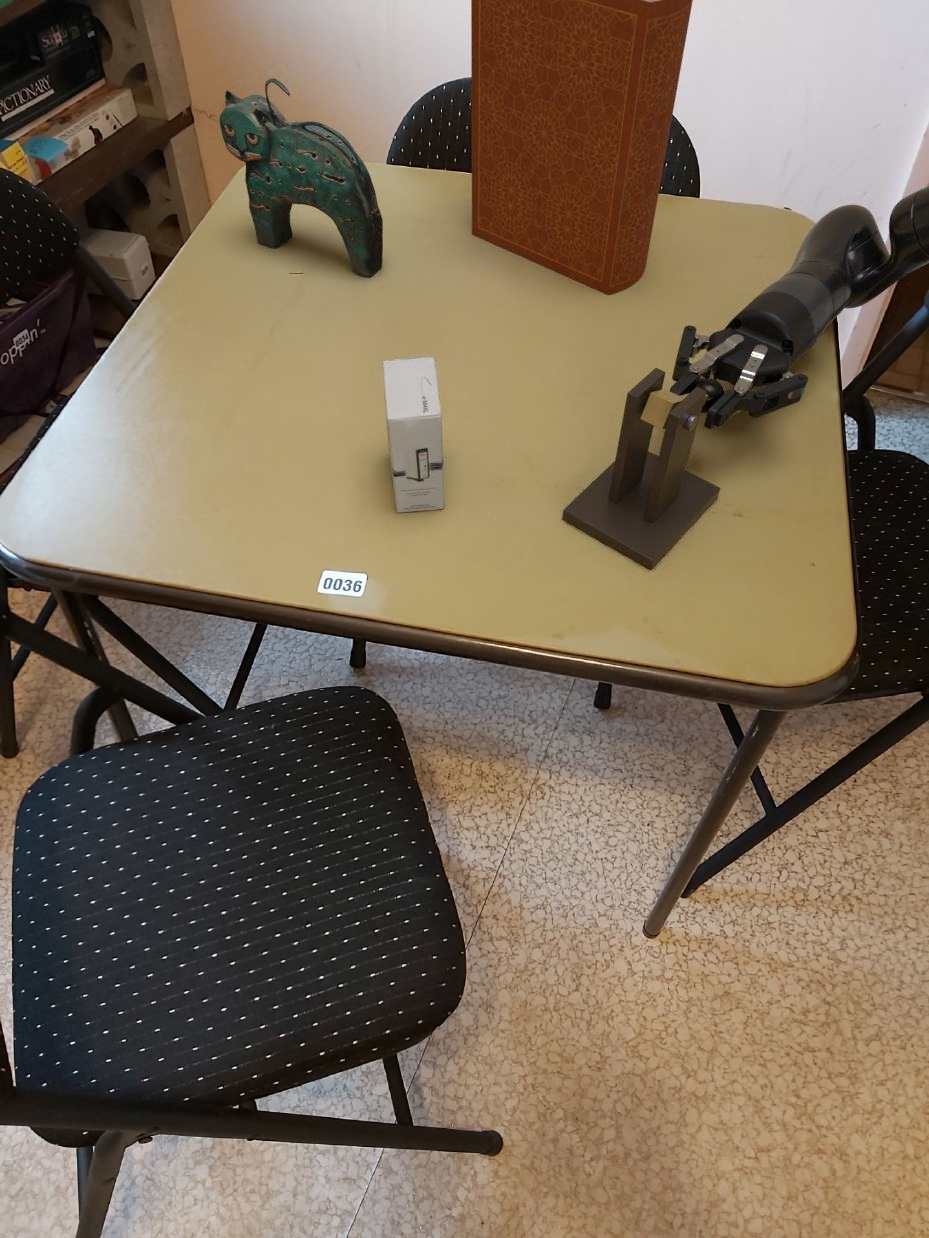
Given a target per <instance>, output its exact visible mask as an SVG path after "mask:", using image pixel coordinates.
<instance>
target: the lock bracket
mask: <svg viewBox="0 0 929 1238" xmlns="http://www.w3.org/2000/svg"><path fill="white" fill-rule="evenodd" d="M665 376H666V371H664V370H662V369H660V368H658V367H654V369H652V370H651V371H650V372H649V373H648V374H647V375H646V376H644V377H643V378H642V379H641V380H640V381H639V382H638V383H637V384H636V385H634V387H632V388H631V389H630V390H629V391H628V392H627V394H626V400H625V405H624V409H623V415H622V421H621V427H620V432H619V437H618V438H619V439H618V443H617V448H616V455H615V460H614V461H613V462H612V463H611V464H610V465H609V466H608V467H607V468H606V469H605V470H603V471H602V472H601V473H600V475H598V476H597V477H596V478H595V479H594V480H593V481H592V482H591V483H590V484H589V485H587V487H586V488H585V489H583V490H582V491H581V492H580V493H579V494H578V495H577V496H576V497H575V498H574V499H573V500H571V502H570V503H568V504H567V506H565V507H564V509H563V510H562V517H561V519H562V520H563V521H565V522H566V523H569V524H570V525H571V526H574V527H575V528H577V529H579V530H580V531H582V532H584V533H586V534H587V535H589V536H591V537H593V538H595V539H596V540H598V541H600V542H601V543H603V544H604V545H607V546H609V547H610V548H611V549H614V550H615V551H617V552H618V553H620V554H622V555H624V556H626V557H627V558H629V559H631V560H633V561H634V562H636V563H638V564H639V565H641V566H643V567H644V568H647V569H648V570H650V571H651V570H653V569H654V568H655V566H656V565H658V564H659V562H660V561H661V560H662V559H663V558H664V557H665V555H666V554H667V553H668V552H669V551H670V550H671V549H672V548H673V547H674V546H675V545H676V543H678V542H679V540H680V539H681V538H682V537H683V536H684V535H685V534H686V533H687V531H688V530H689V529H690V528H691V527H692V526H693V525H694V524H695V523H696V522H697V520H699V518H700V517H702V515H703V514H704V513H705V512H706V511H707V510H708V509H709V508H710V506H711V505H712V504H713V503H714V502H715V501H716V500H717V499H718V498H719V495H720V492H721V487H719V486H718V485H716V484H714V483H711V482H710V481H708V480H706V479H704V478H702V477H700V476H698V475H697V474H694V473H692V472H690V471H688V470H686V469H687V464H688V462H689V458H690V455H691V450H692V446H693V443H694V440H695V436H696V432H697V429H698V425H699V421H700V417H701V415H702V413H701V410H702V407H703V403H704V399H705V396H706V392H707V391H705V390H703V389H701V388H699V387H696V388H695V389H694V390H693V391H692V392H691V393H690V394H689V395H687V396H686V397H685V398H684V399H683V400H682V401H681V402H680V403H679V404H678V405H677V406H676V407H675V408H674V409H673V410H672V411H671V412H670V413H669V415H668V420H667V424H666V428H665V429H664V433H663V436H662V441H661V444H660V445H661V446H660V449H659V454H658V455H657V454H656V453H652V451H649V450H650V449H649V448H650V444H651V439H652V435H653V431H654V427H655V426H654V425H652V424H650V423H648V422H646V421H643V420H641V419H640V418H641V416H642V413H643V411H644V408H645V406H646V403H647V401H648V398H649V396H650V394H651V392H655V391H659V390H663V386H664V382H665Z"/></svg>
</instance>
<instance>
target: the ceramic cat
mask: <svg viewBox="0 0 929 1238" xmlns="http://www.w3.org/2000/svg"><path fill="white" fill-rule="evenodd" d="M271 83H273V84H274V85H276V86H277V87H279V89H281V90H282V92H284V93H285V94H286V95H287V96H288V97H290V95H291V94H290V91H289V90H288V88H287V87H286V85H284V83H282V82H281V80H279V79H277V78H269V79H267V80H266V81H265V84H264V91H265V92H264V93H265V97H264V96H262V95H260V94H251V95H248V96H245V97H243V98H240V97H238V96H237V95H235V94H234V93H233V92H232V91H230V90H229V89H228V90H227V89H226V90H225V95H224V97H225V99H224V100H225V101H224V103H225V107H224V109H223V110H222V112H221V113H220V115H219V127H220V131H221V135H222V139H223V141H224V144H225V148H226V150H227V151H228V152H229V154H231V155H232V156H233V157H234V158H236V159H237V160H239V161H241V162H244V163H245V178H244V180H245V185H246V190H247V195H248V209H249V212H250V215H251V219H252V222H253V226H254V230H255V236H256V240H257V244H260V245H263V246H265V247H268V248H271V249H276V248H279V247H281V246H283V245H284V244H286V243H288V241H289V240H291V239H293V236H294V233H293V228H292V224H291V211H292V207H293V205H304V206H308V207H312V208H314V209H317V210H319V211H320V212H322V213H323V214H325V215H326V216H327V217H329V218H330V219H331V220H332V222H333V223H334V224H335V227H336V228H337V230H338V233H339V235H340V236H341V238H342V241H343V244H344V247H345V250H346V252H347V255H348V258H349V261H350V265H351V269H352V272H353V273H354V274H356V275H357V276H362V277H367V278H371V277H372V276H374V275H375V274H376V273H377V272H378V271H379V270H380V269H381V268H383V251H384V249H383V248H384V238H383V235H384V221H383V220H384V219H383V216H382V213H381V210H380V207H379V202H378V198H377V194H376V190H375V187H374V184H373V180H372V177H371V175H370V173H369V170H368V168H367V166H366V165H365V162H364V161H363V160H362V158H361V157H360V155H359V154H358V153H357V152H356V150H355V148H354V147H353V146H352V145H351V143H350V142H349V140H348V139H347V138H346V137H345V136H344V135H343V134H341V133H340V132H338V131H337V130H336V129H334V128H332V127H330V126H328V125H326V124H324V123H322V122H318V121H315V120H313V121H312V120H311V121H288V120H287V119H286V118H285V117H284V115H283V113H282V112H281V111H280V110H279V109H278V107H276V105H275V104H274V103H272V101H271V100H270V99H269V95H268V87H269V85H270V84H271Z"/></svg>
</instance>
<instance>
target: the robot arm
mask: <svg viewBox="0 0 929 1238" xmlns="http://www.w3.org/2000/svg"><path fill="white" fill-rule="evenodd" d="M888 236H889V244H890V253H889V251H888V248H887V245H886V244H885V241H884V238H883V236H882V233H881V232H880V229H879V226H878V223H877V222H876V219H875V217H874V215H873V214H872V212H871V211H870V210H869V209H868V208H867V207H865V206H862V205H860V204H846V205H841V206H838V207H836V208H834V209H832V210H830V211H829V212H828V213H826V214H825V215H823V216H822V217H821V218H820V219H819V220H818V221H817V222H816V223H815V224H814V225H813V226H812V228H810V230H809V231H808V232H807V234H806V236H805V237H804V239H803V240H802V243H801V245H800V247H799V249H798V252H797V254H796V255H795V259H794V261H793V263H792V265H791V267H790V269H789V270H788V271H787V272H786V273H785V274H784V275H782V277H780V278H779V279H777V280H776V281H774V282H773V283H771V284H770V285H768V286H767V287H766V288H764V290H763V291H761V292H760V293H759V294H758V295H756V297H754V299H753V300H751V301H750V302H749V303H748V304H747V305H746V306H745V307H743V309H741V311H740V312H739V313H737V314H736V315H735V316H734V317H733V318H732V319H731V320H730V321H729V322H728V323H727V324H726V326H725V327H724V328H723V329H721V330H717V331H714V332H713V333H711V334H710V335H705V334H698V333H697V327H696V326H694V325H685V326H684V328H683V332H682V336H681V339H680V343H679V346H678V347H679V348H678V350H677V355H676V358H675V363H674V367H673V371H672V376H671V379H672V380H673V381H674V382H675V383H674V384H672V385H671V386H670V388H669V391H670V392H672V393H674V394H676V395H678V396H681V395H685V394H688V393H690V391H691V389H692V387H693V386H694V385H695V384H696V383H697V382H698V381H700V380H702V379H714V380H716V381H718V382H720V381H723V382H727V383H729V384H730V385H732V386H733V389H727V390H726V391H725V394H724V395H723V396H722V397H721V398H720V399H719V400H718V401H717V402H716V403H715V404H713V405H712V406H711V408H710V409H709V410H708V413H707V414H706V416H705V419H704V423H703V427H704V428H706V429H708V430H709V431H712V430H713V429H714V428H715V427H717V428H721V427H723V426H724V425H725V424H726V423H727V422H728V421H729V420H730V419H731V418H733V416H734V415H735V414H739V413H741V412H742V411H743V412H747V415H748V416H749V417H751V418H753V419H758V418H761V417H763V416H766V415H768V414H771V413H774V412H777V411H778V410H782V409H784V408H787V407H789V406H792V405H794V404H797V403H799V402H800V401H801V399H802V397H803V395H804V393H805V389H806V387H807V384H808V381H809V376H808V375H807V374H805V373H797V374H794V373H792V372H791V371H790V369H791V368H792V367H794V365H795V364H796V363H797V362H798V361H799V360H800V359H801V358H802V357H803V356H804V354H806V352H807V351H809V350H812V348H813V347H814V346H815V345H816V343H817V341H818V340H819V339H820V337H821V336H822V335H823V333H824V332H825V329H827V327H829V325H830V324H831V323H832V322H833V321H834V320H835V319H836V318H837V317H839V315H840V314H841V313H842V312H843V310H844V309H855V308H859V307H862V306H864V305H867V304H868V303H870V302H871V301H872V300H874V299H876V298H877V297H879V296H880V295H881V294H882V293H884V292H885V291H886V290H887V289H889V288H891V287H892V286H893V285H894V284H896V283H897V282H898V281H900V280H901V279H903V278H904V277H906V276H908V275H909V274H911V273H913V272H914V271H916V270H918V269H920V268H921V267H924V266H926V265H928V264H929V185H928V186H926V187H923V188H921V189H918V190H916V191H915V192H913V193H911V194H908V195H906V196H905V197H903V198H902V199H900V200H899V201H898V202H897V203H896V204H894V206H893V208H892V209H891V213H890V215H889V221H888ZM703 350H706V352H705V354H704V356H703V357H702V358H700V359H699V360H697V361H696V362H694V363H691V362H690V359H694V358H695V357H696V355H698V354H700V352H701V351H703ZM756 388H757V389H756ZM754 389H755V390H754Z"/></svg>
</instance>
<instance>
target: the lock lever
mask: <svg viewBox="0 0 929 1238" xmlns="http://www.w3.org/2000/svg"><path fill="white" fill-rule="evenodd" d="M696 387H699V388H701V389H703V390H705V391H707V392H706V396H705V399H704V403H703V407H702V410H701V414H702V415H707V413H708V410H709V409H710V408H711V406H712V405H713V404H715V403H716V402H717V401H718V400H719V399H720V398H721V397H722V396H723V395H724V394H725V393H726V391H725V389H724V387H723V385H722V384H721V383H720V381H716V380H714V379H702V380H700V381H698V382H697V383H696V384H695V385H694V386H693V387H692V389H691V391H690V393H691V392H692V391H693V390H694V389H695V388H696ZM690 393H688V394H685V395H681V396H678V395H676V394H674V393H672V392H670V390H668V389H665V388H662V390H659V391H655V392H651V394H650V396H649V398H648V401H647V403H646V406H645V408H644V411H643V413H642V416H641V418H640V419H641V420H643V421H646V422H648V423H650V424H652V425H654V427H656V428H657V429H659V430H661V431H662V430H665V428H666V424H667V420H668V415H669V413H670V412H671V411H672V410H673V409H674V408H675V407H676V406H677V405H678V404H679V403H680V402H681V401H682V400H683V399H684V398H685V397H686V396H687V395H689V394H690Z"/></svg>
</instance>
